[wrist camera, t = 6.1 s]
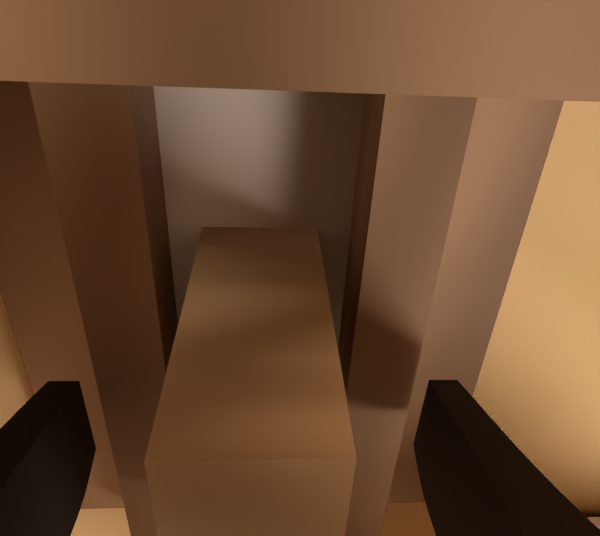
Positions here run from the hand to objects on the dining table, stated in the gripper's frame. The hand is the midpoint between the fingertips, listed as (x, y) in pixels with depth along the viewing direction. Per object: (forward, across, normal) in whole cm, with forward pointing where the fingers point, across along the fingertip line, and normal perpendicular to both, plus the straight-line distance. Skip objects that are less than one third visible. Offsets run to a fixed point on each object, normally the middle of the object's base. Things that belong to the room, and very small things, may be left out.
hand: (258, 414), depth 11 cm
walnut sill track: (+3, 0, 0) cm, 3 cm away
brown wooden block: (+2, 0, 0) cm, 2 cm away
